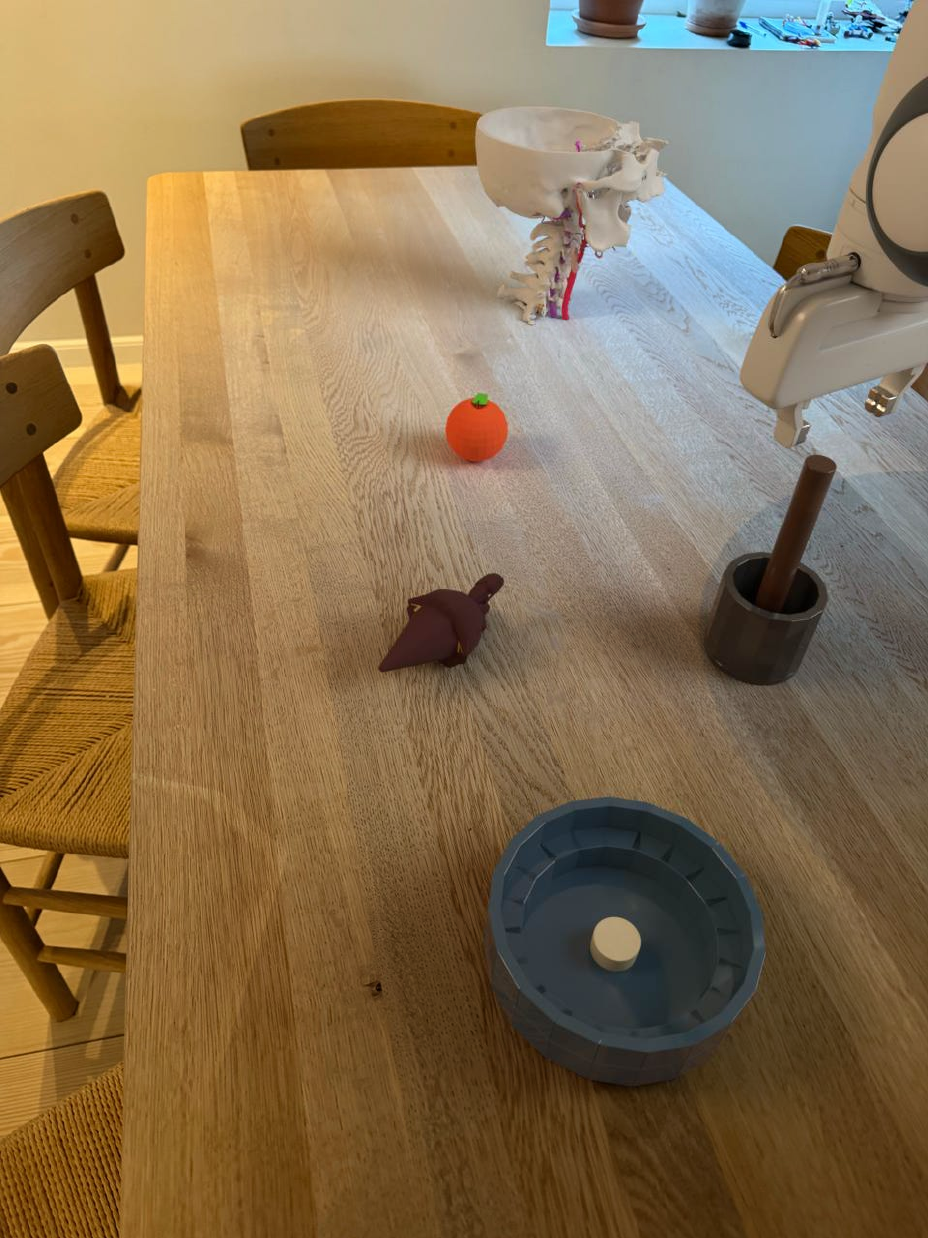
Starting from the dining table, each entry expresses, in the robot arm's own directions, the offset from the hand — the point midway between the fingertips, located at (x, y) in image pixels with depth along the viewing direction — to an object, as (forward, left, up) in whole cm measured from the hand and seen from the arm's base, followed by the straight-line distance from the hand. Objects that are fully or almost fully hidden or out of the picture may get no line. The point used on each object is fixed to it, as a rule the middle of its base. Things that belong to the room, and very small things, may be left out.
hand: (834, 426), depth 71 cm
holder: (0, 0, -24) cm, 24 cm away
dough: (+12, +32, -23) cm, 41 cm away
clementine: (+29, -26, -24) cm, 46 cm away
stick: (0, 0, -23) cm, 23 cm away
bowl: (+12, +32, -24) cm, 42 cm away
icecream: (+28, +6, -24) cm, 37 cm away
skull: (+23, -66, -24) cm, 74 cm away
